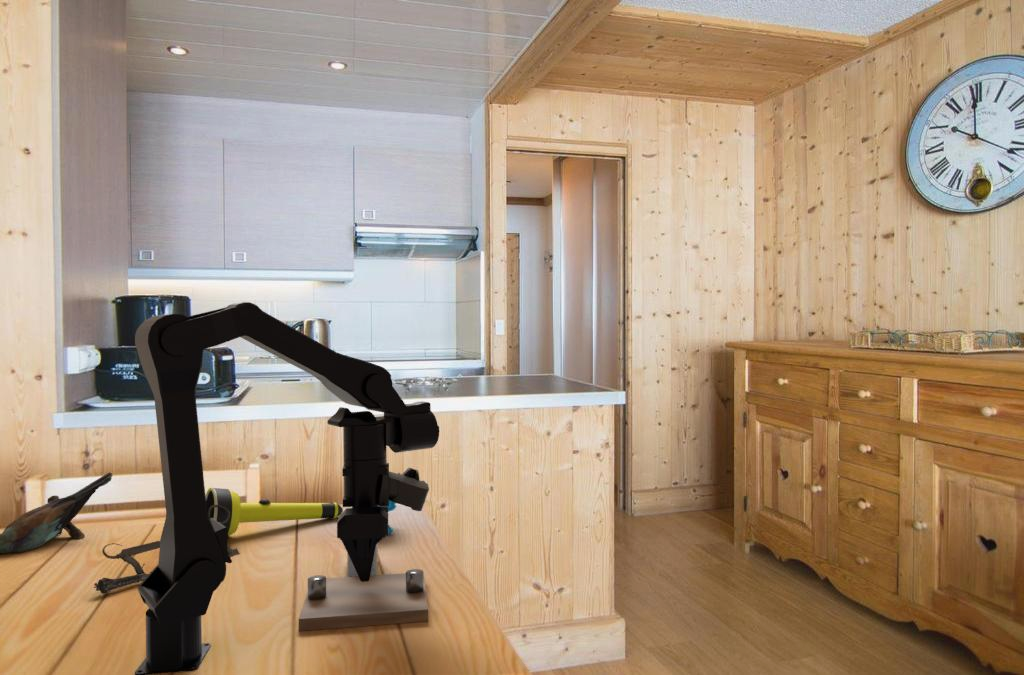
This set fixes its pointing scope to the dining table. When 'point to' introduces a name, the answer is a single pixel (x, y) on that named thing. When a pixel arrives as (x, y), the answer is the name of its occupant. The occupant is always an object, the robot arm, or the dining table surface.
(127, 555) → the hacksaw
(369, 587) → the board
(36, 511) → the bird figurine
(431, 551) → the dining table surface
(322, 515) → the flashlight
